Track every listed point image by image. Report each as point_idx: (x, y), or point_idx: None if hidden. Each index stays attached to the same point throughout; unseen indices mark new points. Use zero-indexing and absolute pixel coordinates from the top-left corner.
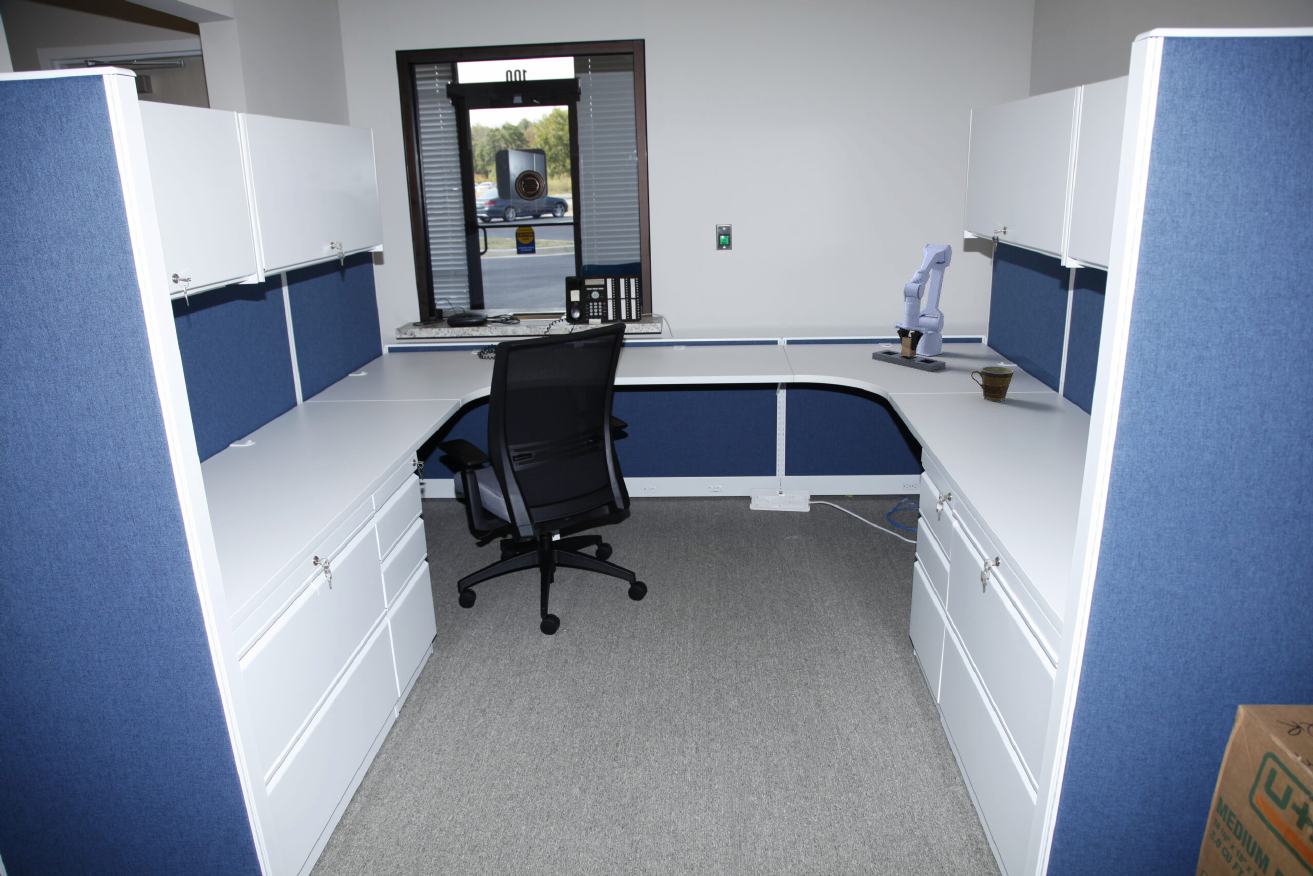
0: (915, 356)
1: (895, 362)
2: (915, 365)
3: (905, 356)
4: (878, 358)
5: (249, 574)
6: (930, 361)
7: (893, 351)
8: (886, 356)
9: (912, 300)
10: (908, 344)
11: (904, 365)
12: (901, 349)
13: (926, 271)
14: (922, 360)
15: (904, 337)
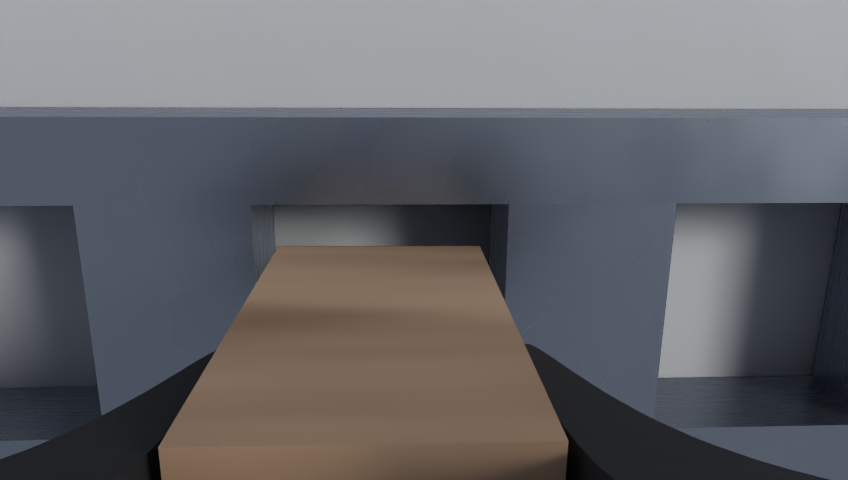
0: None
1: (485, 110)
2: (55, 112)
3: None
4: (841, 110)
5: None
6: (21, 428)
7: (806, 464)
8: (710, 117)
9: None
10: (285, 345)
11: (297, 110)
12: (494, 282)
13: None
14: (96, 347)
15: (499, 476)
